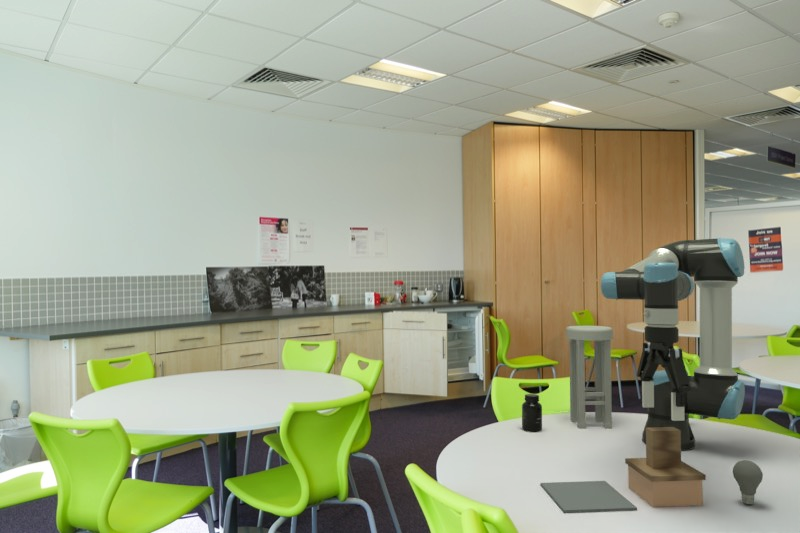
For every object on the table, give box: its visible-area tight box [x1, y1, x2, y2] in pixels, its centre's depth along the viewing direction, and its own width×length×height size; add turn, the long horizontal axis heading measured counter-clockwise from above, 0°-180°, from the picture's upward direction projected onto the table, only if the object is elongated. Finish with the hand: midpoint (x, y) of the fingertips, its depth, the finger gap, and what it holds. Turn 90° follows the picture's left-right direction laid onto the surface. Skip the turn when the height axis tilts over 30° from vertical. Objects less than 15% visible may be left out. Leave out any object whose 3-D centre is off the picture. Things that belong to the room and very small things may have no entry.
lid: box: [624, 427, 707, 482], centre depth 137 cm, size 13×13×10 cm
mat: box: [540, 480, 638, 514], centre depth 136 cm, size 17×17×1 cm
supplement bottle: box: [521, 393, 543, 433], centre depth 196 cm, size 7×7×12 cm
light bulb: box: [732, 459, 764, 505], centre depth 132 cm, size 6×6×10 cm
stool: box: [565, 325, 614, 430], centre depth 203 cm, size 16×16×35 cm
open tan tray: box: [627, 465, 704, 508], centre depth 136 cm, size 12×12×6 cm
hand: (662, 413), depth 137 cm, fingers open, 13 cm apart
